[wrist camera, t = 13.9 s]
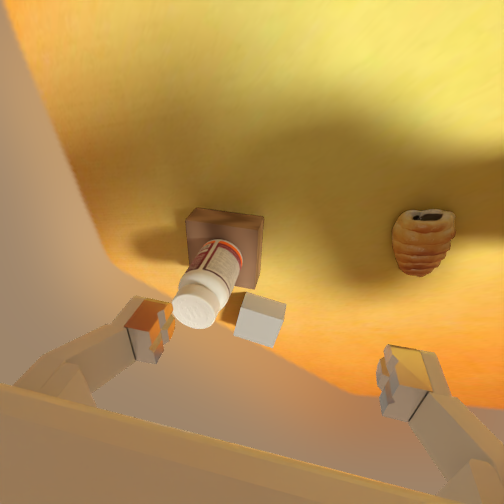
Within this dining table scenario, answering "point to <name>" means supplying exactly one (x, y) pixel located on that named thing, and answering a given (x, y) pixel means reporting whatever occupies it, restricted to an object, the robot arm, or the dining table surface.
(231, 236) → the walnut block
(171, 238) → the dining table surface
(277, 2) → the dining table surface
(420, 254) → the pastry
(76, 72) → the dining table surface
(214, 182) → the dining table surface
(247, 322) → the grey block
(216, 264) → the pill bottle
